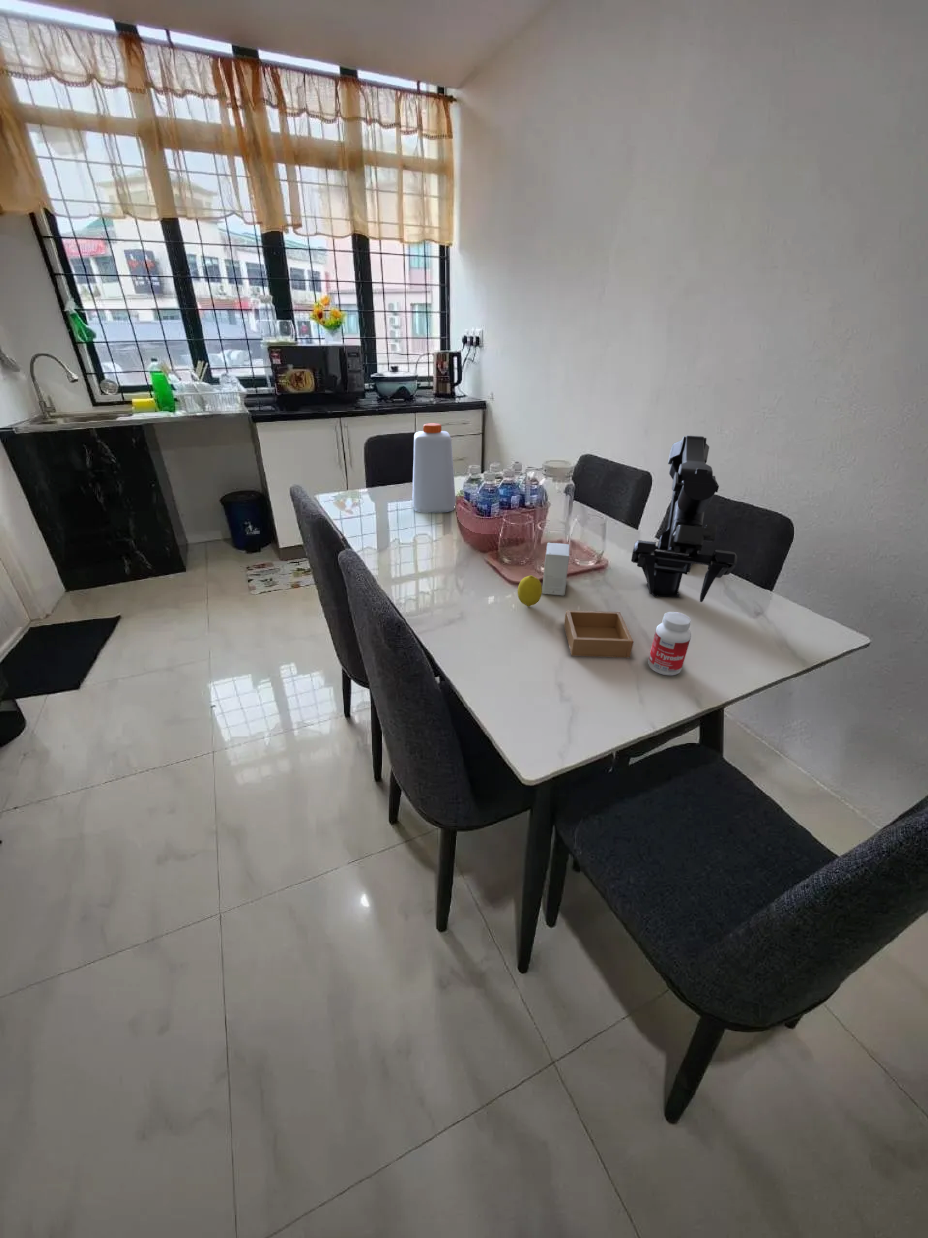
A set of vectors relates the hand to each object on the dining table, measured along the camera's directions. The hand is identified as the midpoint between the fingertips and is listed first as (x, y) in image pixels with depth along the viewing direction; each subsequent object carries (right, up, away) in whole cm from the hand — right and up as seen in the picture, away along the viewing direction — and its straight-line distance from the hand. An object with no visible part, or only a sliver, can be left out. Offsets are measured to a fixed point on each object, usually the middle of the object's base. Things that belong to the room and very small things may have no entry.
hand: (676, 597), depth 98 cm
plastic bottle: (-52, +36, +82) cm, 104 cm away
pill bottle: (-3, -14, -1) cm, 14 cm away
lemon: (-26, -1, +20) cm, 33 cm away
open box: (-14, -9, +7) cm, 18 cm away
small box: (-19, +3, +28) cm, 34 cm away
